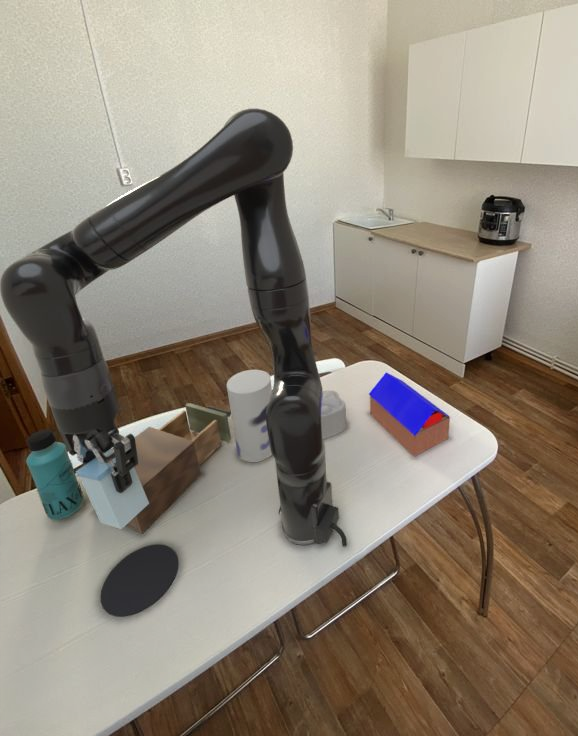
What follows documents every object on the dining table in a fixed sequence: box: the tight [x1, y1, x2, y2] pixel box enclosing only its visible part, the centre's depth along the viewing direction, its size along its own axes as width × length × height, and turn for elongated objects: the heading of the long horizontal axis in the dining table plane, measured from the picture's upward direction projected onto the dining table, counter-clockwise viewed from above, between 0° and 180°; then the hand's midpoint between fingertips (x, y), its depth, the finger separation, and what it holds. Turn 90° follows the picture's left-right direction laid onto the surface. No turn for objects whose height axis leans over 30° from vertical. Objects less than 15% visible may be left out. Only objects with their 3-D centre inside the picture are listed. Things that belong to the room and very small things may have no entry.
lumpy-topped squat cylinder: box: [321, 390, 347, 440], centre depth 103 cm, size 10×13×9 cm
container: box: [226, 369, 273, 463], centre depth 93 cm, size 10×10×20 cm
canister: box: [75, 448, 149, 530], centre depth 60 cm, size 5×5×10 cm
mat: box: [100, 543, 179, 618], centre depth 67 cm, size 12×12×1 cm
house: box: [368, 372, 451, 457], centre depth 102 cm, size 12×20×12 cm, turn 32°
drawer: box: [157, 402, 232, 466], centre depth 95 cm, size 19×13×8 cm
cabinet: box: [92, 426, 202, 535], centre depth 83 cm, size 16×14×10 cm
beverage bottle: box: [25, 428, 84, 521], centre depth 77 cm, size 6×7×20 cm
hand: (110, 481), depth 60 cm, fingers closed on canister, 5 cm apart
